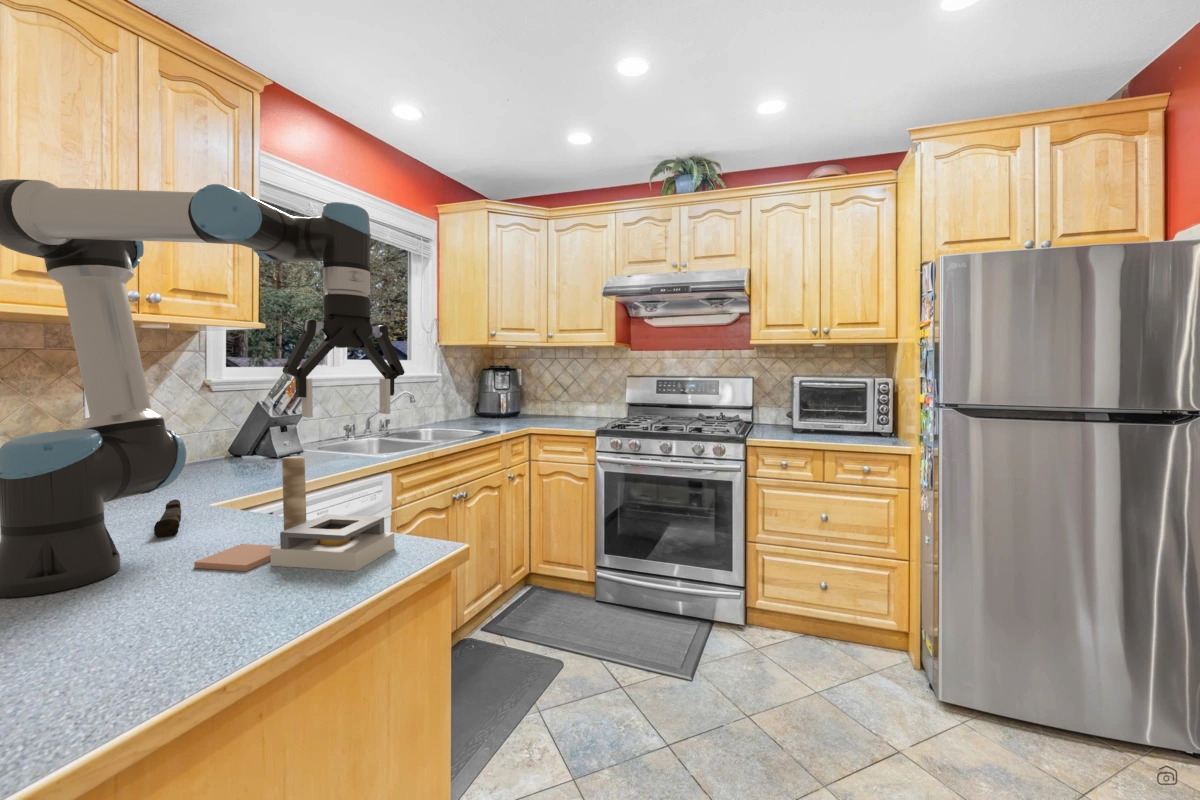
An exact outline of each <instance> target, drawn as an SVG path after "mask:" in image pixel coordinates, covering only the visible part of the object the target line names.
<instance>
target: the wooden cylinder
mask: <svg viewBox="0 0 1200 800" xmlns="http://www.w3.org/2000/svg"><path fill="white" fill-rule="evenodd" d="M281 468H282V469H281V470H282V473H281V474H282V475H281V476H282V504H283V505H282V506H283V531H285V530H287V529H290V528H292V527H295V526H298V525H300V524H303V523H305V522H307V495H306V494H307V493H306V458H305V456H301V455H297V456H295V455H294V456H285V457H282V458H281Z"/></svg>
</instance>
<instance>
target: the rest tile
mask: <svg viewBox="0 0 1200 800" xmlns="http://www.w3.org/2000/svg"><path fill="white" fill-rule="evenodd" d="M275 546H276V545H270V544H269V545H267V544H254V543H253V544H250V543H239V544H238V545H236V546H232V547H230V548H228V549H224V550H221V551H220V552H216V553H214V554H211V555H210V556H209V555H208V556H206V557H203V558H201V559H198V560H196V561H194V562H193V565H194V569H205V570H206V569H207V570H223V571H224V570H225V571H238V572H248V571H250V570H252V569H255V568H256V567H259V566H261V565H264V564H267V562H271V557H270V548H272V547H275Z"/></svg>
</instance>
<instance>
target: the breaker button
mask: <svg viewBox="0 0 1200 800" xmlns="http://www.w3.org/2000/svg"><path fill="white" fill-rule="evenodd" d="M334 529H336V530H340V529H342V528H334ZM319 541H320V545H327V546H341V545H343V544H345V543H347V542H349V541H350V538H348V539H346V540H329V539H319Z"/></svg>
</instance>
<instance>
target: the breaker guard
mask: <svg viewBox="0 0 1200 800" xmlns="http://www.w3.org/2000/svg"><path fill="white" fill-rule="evenodd" d="M334 528H342V529H340V530H336V529H334ZM279 535H280V544H278V545H274V546H275V547H272V548H270V557H271V561H270V566H272V567H285V568H286V567H287V568H301V569H302V568H303V569H317V570H334V571H348V572H357V571H358V570H360V569H362V568H364V567H365V566H367V565H368V564H370V563H372V562H374V561H375V560H378V559H379V558H381V557H382V556H384V555H386V554H387V553H389V552H390V551H393V550H394V549H395V532H390V531H389V532H387V531H385V517H384V516H369V515H368V516H367V515H351V514H350V515H348V514H347V515H346V514H329V513H328V514H327V513H326V514H324V515H321V516H319V517H316V518H313V519H311V520H308V521H306V522H305V523H303V524H300V525H298V526H295V527H292V528H290V529H287V530H285V531H284V530H283V531H280V532H279ZM348 538H350V541H349V542H347V543H345V544H343V545H341V546H327V545H320V541H319V539H329V540H346V539H348Z"/></svg>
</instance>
